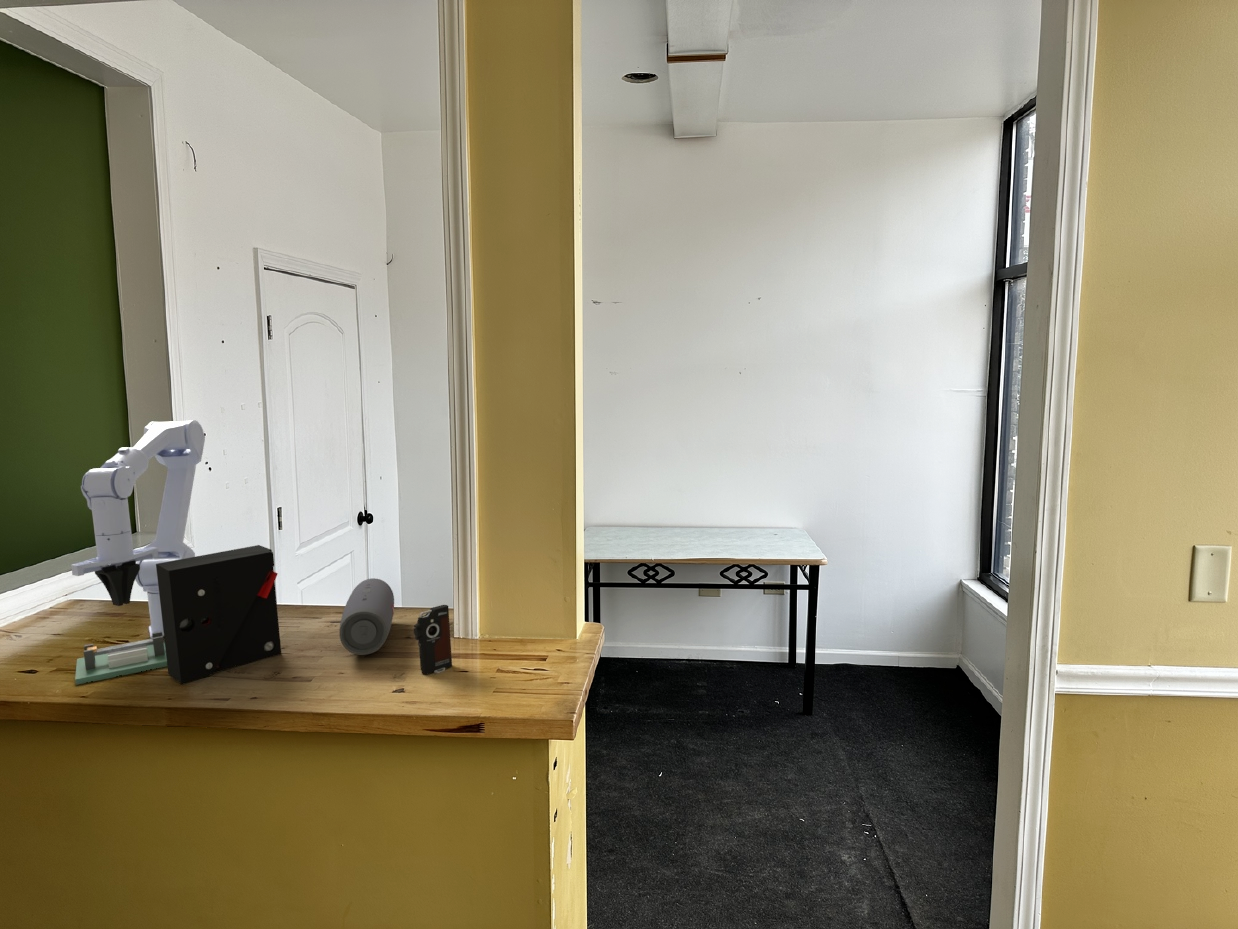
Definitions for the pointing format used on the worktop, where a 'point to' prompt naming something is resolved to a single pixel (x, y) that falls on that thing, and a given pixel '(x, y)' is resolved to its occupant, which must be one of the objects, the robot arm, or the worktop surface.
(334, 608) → the worktop surface
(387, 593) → the bluetooth speaker
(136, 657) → the heatsink base
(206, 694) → the worktop surface
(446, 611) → the camera
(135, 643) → the bar
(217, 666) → the electrical component
